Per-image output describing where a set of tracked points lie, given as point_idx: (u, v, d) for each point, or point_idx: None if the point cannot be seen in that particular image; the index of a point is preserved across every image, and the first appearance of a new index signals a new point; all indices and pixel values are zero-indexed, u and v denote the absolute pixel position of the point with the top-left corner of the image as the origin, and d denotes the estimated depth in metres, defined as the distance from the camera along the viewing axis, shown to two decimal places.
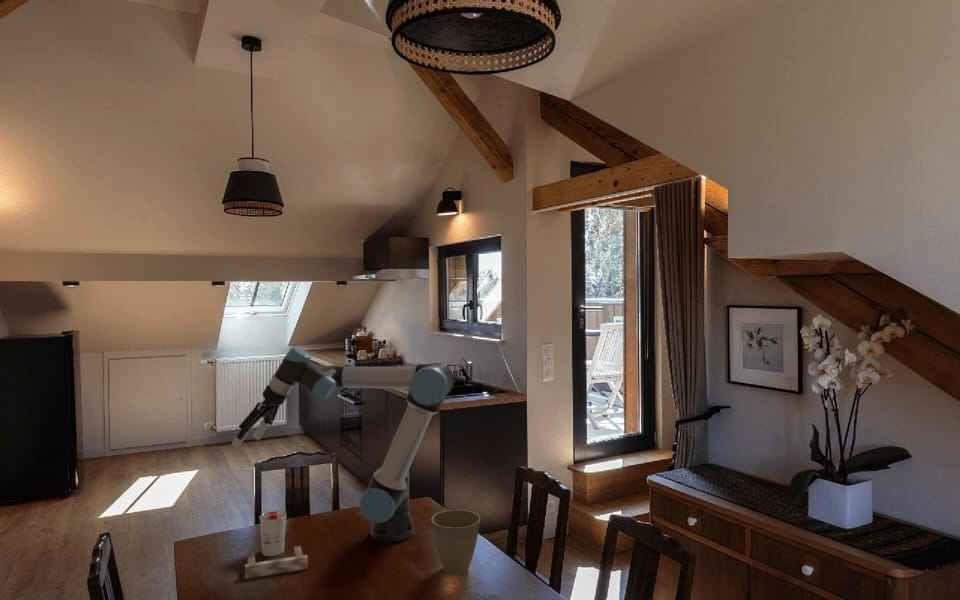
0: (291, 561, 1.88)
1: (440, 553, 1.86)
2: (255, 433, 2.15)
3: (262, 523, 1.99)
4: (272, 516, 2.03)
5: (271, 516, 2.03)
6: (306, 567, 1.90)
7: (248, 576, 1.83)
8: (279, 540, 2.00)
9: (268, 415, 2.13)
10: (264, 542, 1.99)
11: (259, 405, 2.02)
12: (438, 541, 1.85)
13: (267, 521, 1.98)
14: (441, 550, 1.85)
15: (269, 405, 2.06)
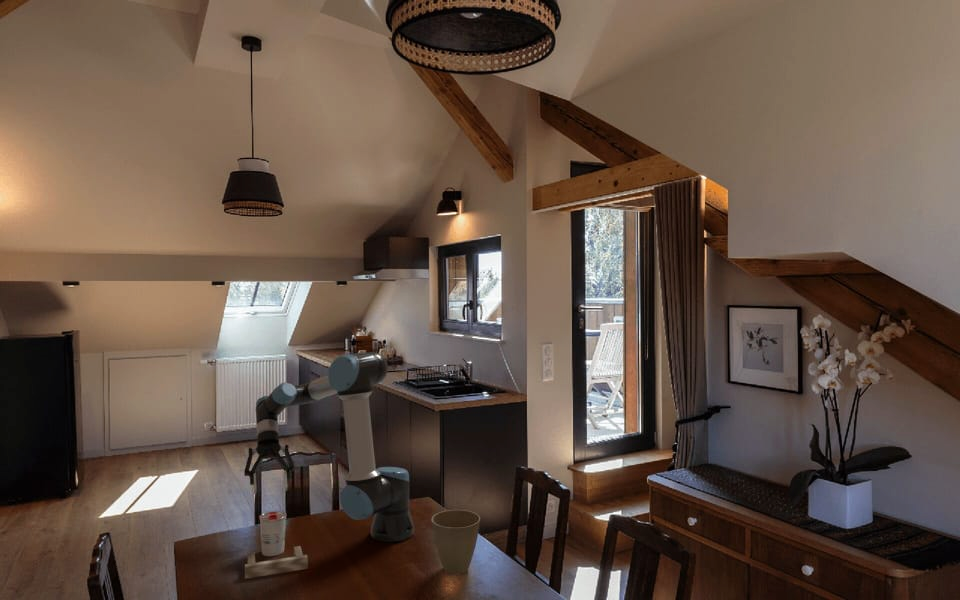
0: (291, 561, 1.88)
1: (440, 553, 1.86)
2: (284, 486, 2.15)
3: (262, 523, 1.99)
4: (272, 516, 2.03)
5: (271, 516, 2.03)
6: (306, 567, 1.90)
7: (248, 576, 1.83)
8: (279, 540, 2.00)
9: (279, 460, 2.20)
10: (264, 542, 1.99)
11: (248, 451, 2.20)
12: (438, 541, 1.85)
13: (267, 521, 1.98)
14: (441, 550, 1.85)
15: (261, 445, 2.22)
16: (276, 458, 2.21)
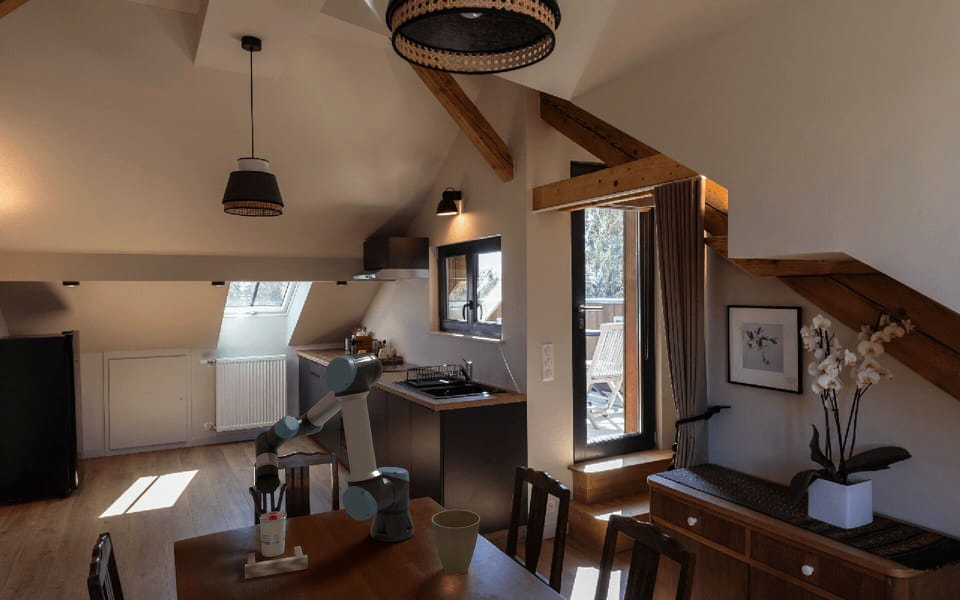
0: (291, 561, 1.88)
1: (440, 553, 1.86)
2: None
3: (262, 524, 1.98)
4: (272, 517, 2.02)
5: (271, 517, 2.02)
6: (306, 567, 1.90)
7: (248, 576, 1.83)
8: (279, 540, 1.99)
9: (270, 498, 2.13)
10: (265, 543, 1.98)
11: (249, 491, 2.14)
12: (438, 541, 1.85)
13: (268, 522, 1.97)
14: (441, 550, 1.85)
15: (259, 480, 2.16)
16: (270, 495, 2.15)
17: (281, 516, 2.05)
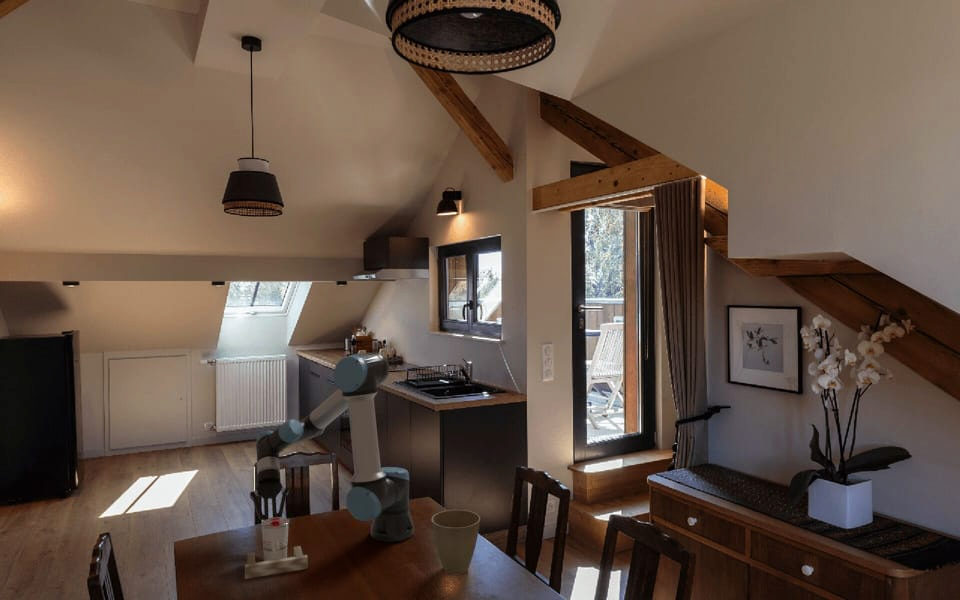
0: (291, 561, 1.88)
1: (440, 553, 1.86)
2: None
3: (265, 530, 1.93)
4: (274, 522, 1.97)
5: (273, 522, 1.97)
6: (306, 567, 1.90)
7: (248, 576, 1.83)
8: (283, 547, 1.94)
9: (272, 503, 2.08)
10: (268, 549, 1.93)
11: (250, 496, 2.09)
12: (438, 541, 1.85)
13: (271, 528, 1.92)
14: (441, 550, 1.85)
15: (260, 485, 2.11)
16: (272, 500, 2.10)
17: (283, 522, 2.00)
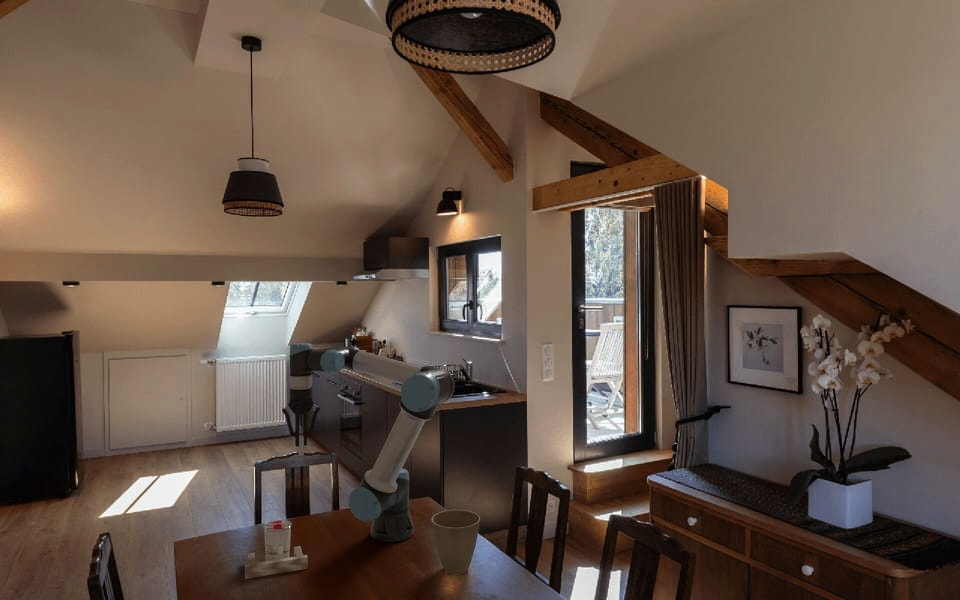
0: (291, 561, 1.88)
1: (440, 553, 1.86)
2: None
3: (267, 533, 1.90)
4: (276, 526, 1.95)
5: (275, 526, 1.95)
6: (306, 567, 1.90)
7: (248, 576, 1.83)
8: (285, 550, 1.92)
9: (303, 421, 2.15)
10: (270, 553, 1.90)
11: None
12: (438, 541, 1.85)
13: (273, 531, 1.90)
14: (441, 550, 1.85)
15: (293, 402, 2.13)
16: (303, 416, 2.15)
17: (285, 525, 1.98)
